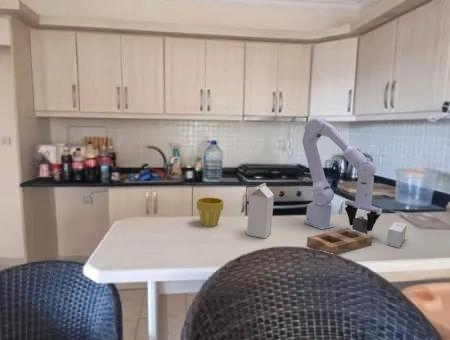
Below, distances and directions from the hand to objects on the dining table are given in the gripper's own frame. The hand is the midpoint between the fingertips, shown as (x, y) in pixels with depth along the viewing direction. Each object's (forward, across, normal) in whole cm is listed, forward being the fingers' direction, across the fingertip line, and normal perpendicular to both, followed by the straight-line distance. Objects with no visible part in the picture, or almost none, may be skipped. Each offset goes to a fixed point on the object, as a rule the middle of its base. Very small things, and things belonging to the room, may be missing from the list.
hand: (360, 227), depth 123 cm
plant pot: (+2, -35, -47) cm, 59 cm away
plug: (+3, 0, 0) cm, 3 cm away
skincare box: (0, +9, +11) cm, 14 cm away
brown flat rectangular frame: (+3, +4, -17) cm, 18 cm away
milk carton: (+3, -17, -36) cm, 40 cm away
